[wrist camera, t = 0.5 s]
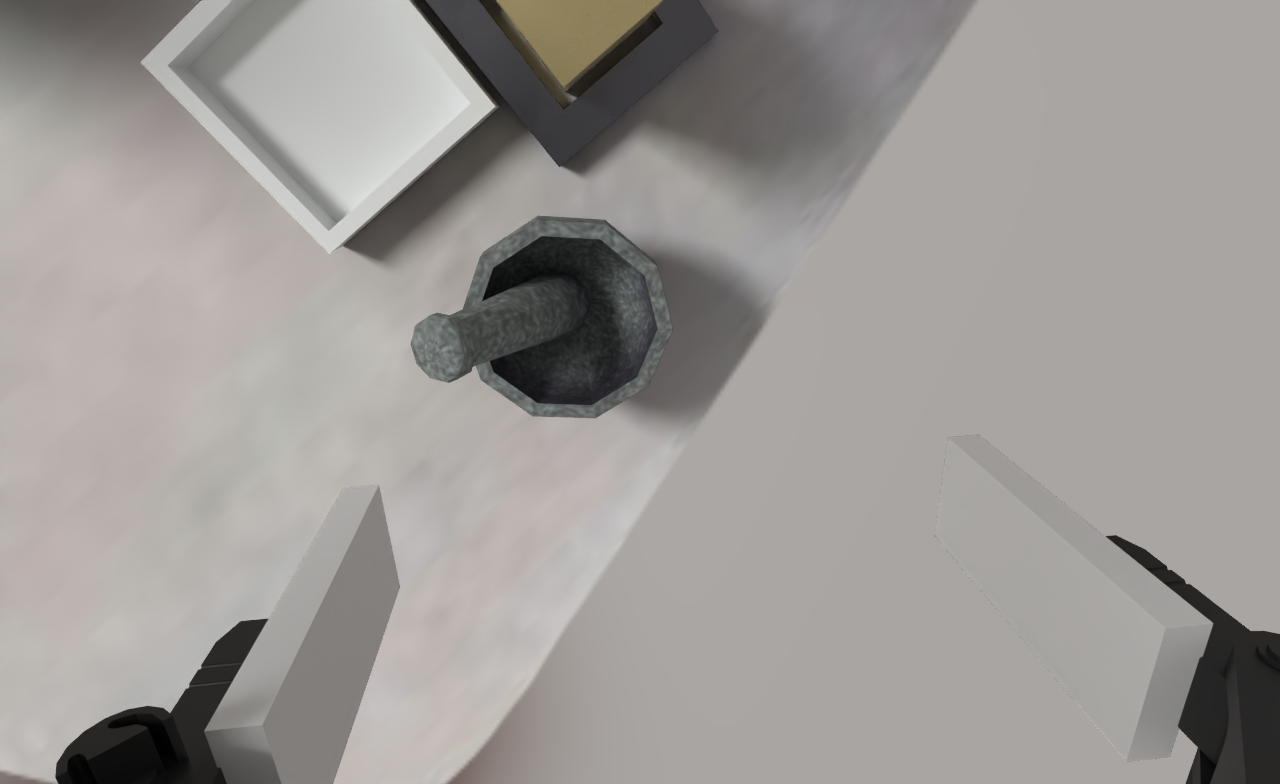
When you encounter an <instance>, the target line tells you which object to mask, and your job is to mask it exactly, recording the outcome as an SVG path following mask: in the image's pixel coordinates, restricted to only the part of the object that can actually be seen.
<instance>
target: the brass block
mask: <svg viewBox="0 0 1280 784" xmlns="http://www.w3.org/2000/svg"><path fill="white" fill-rule="evenodd" d="M495 1H496V2H497V4H498V5H499V6H500V8H501V9H502V10H503V12H504V13H505V14H506V15H507V17H508V18H509V19H510V21H511V22H512V23H513V25H514V26H515V27H516V28H517V30H518V31H519V32H520V34H521V35H522V36H523V38H524V39H525V40H526V42H527V43H528V44H529V45H530V47H531V48H532V49H533V51H534V52H535V53H536V55H537V56H538V57H539V59H540V60H541V61H542V62H543V64H544V65H545V66H546V68H547V69H548V70H549V72H550V73H551V74H552V76H553V77H554V78H555V79H556V81H557V82H558V83H559V85H560V86H561V87H562V89H563V90H564V91H565V92H566V91H567V90H568V89H569V88H570V87H571V86H573V85H574V84H575V83H576V82H577V81H578V80H579V79H581V78H582V77H583V76H584V75H585V74H586V73H587V72H589V71H590V70H591V69H592V68H593V67H594V66H595V65H597V64H598V63H599V62H600V61H601V60H602V59H603V58H605V57H606V56H607V55H608V54H609V53H610V52H611V51H613V50H614V49H615V48H616V47H617V46H618V45H619V44H621V43H622V42H623V41H624V40H625V39H626V38H627V37H629V36H630V35H631V34H632V33H633V32H634V31H635V30H637V29H638V28H639V27H640V26H641V25H642V24H643V23H644V22H645V21H646V20H647V19H648V18H649V17H650V15H651V14H652V13H653V12H654V11H655V10H656V9H657V8H658V6H659V5H660V4H661V3H662V2H663V1H664V0H495Z"/></svg>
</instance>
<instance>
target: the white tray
mask: <svg viewBox="0 0 1280 784" xmlns="http://www.w3.org/2000/svg"><path fill="white" fill-rule="evenodd" d="M140 63H141V64H142V65H143V66H144V67H145V68H146V69H147V70H148V71H149V72H150V73H151V74H152V75H153V76H154V77H155V78H156V79H157V80H158V81H159V82H160V83H161V84H162V85H163V86H164V87H165V88H166V89H167V90H168V91H169V92H170V93H171V94H172V95H173V96H174V97H175V98H176V99H177V100H178V101H179V102H180V103H181V104H182V105H183V106H184V107H185V108H186V109H187V110H188V111H189V112H190V113H191V114H192V115H193V116H194V117H195V118H196V119H197V120H198V121H199V122H200V123H201V124H202V125H203V126H204V128H205V129H206V130H207V131H208V132H209V133H210V134H211V135H212V136H213V137H214V138H215V139H216V140H217V141H218V142H219V143H220V144H221V145H222V146H223V147H224V148H225V149H226V150H227V151H228V152H229V153H230V154H231V155H232V156H233V157H234V158H235V159H236V160H237V161H238V162H239V163H240V164H241V165H242V166H243V167H244V168H245V169H246V170H247V171H248V172H249V173H250V174H251V175H252V176H253V177H254V178H255V179H256V180H257V181H258V182H259V183H260V184H261V185H262V186H263V187H264V188H265V189H266V190H267V191H268V192H269V193H270V194H271V195H272V196H273V197H274V198H275V199H276V200H277V201H278V202H279V203H280V204H281V205H282V207H283V208H284V209H285V210H286V211H287V212H288V213H289V214H290V215H291V216H292V217H293V218H294V219H295V220H296V221H297V222H298V223H299V224H300V225H301V226H302V227H303V228H304V229H305V230H306V231H307V232H308V233H309V234H310V235H311V236H312V237H313V238H314V239H315V240H316V241H317V242H318V243H319V244H320V245H321V246H322V247H323V248H324V249H325V250H326V251H327V252H328V253H329V254H331V253H332V252H334V251H335V250H337V249H339V248H340V247H342V246H343V245H344V244H346V243H347V242H348V241H349V240H350V239H351V238H352V237H353V236H355V235H356V234H357V233H358V232H359V231H360V230H361V229H362V228H364V227H365V226H366V225H367V224H368V223H369V222H370V221H371V220H373V219H374V218H375V217H376V216H377V215H378V214H379V213H380V212H382V211H383V210H384V209H385V208H386V207H387V206H388V205H389V204H391V203H392V202H393V201H394V200H395V199H396V198H397V197H398V196H400V195H401V194H402V193H403V192H404V191H405V190H406V189H407V188H409V187H410V186H411V185H412V184H413V183H414V182H415V181H416V180H418V179H419V178H420V177H421V176H422V175H423V174H424V173H425V172H427V171H428V170H429V169H430V168H431V167H432V166H433V165H434V164H436V163H437V162H438V161H439V160H440V159H441V158H442V157H444V156H445V155H446V154H447V153H448V152H449V151H450V150H451V149H453V148H454V147H455V146H456V145H457V144H458V143H459V142H460V141H462V140H463V139H464V138H465V137H466V136H467V135H468V134H469V133H471V132H472V131H473V130H474V129H475V128H476V127H477V126H478V125H480V124H481V123H482V122H483V121H484V120H485V119H486V118H487V117H489V116H490V115H491V114H492V113H493V112H494V111H495V110H496V109H498V108H499V107H500V106H499V105H498V104H497V103H496V101H495V100H494V99H493V98H492V97H491V95H490V94H489V93H488V92H487V90H486V89H485V88H484V87H483V85H482V84H481V83H480V82H479V80H478V79H477V78H476V77H475V76H474V74H473V73H472V72H471V71H470V69H469V68H468V67H467V66H466V64H465V63H464V62H463V61H462V59H461V58H460V57H459V56H458V54H457V53H456V52H455V51H454V50H453V48H452V47H451V46H450V45H449V43H448V42H447V41H446V40H445V38H444V37H443V36H442V35H441V33H440V32H439V31H438V30H437V28H436V27H435V26H434V25H433V24H432V22H431V21H430V20H429V19H428V17H427V16H426V15H425V14H424V12H423V11H422V10H421V9H420V7H419V6H418V5H417V4H416V3H415V1H414V0H201V1H200V2H199V3H198V4H197V5H196V6H195V7H194V8H193V9H192V10H191V11H190V12H189V13H188V14H187V15H186V16H185V17H184V18H183V19H182V20H181V21H180V22H179V23H178V24H177V25H176V26H175V27H174V28H173V29H172V30H171V31H170V32H169V33H168V34H167V35H166V36H165V37H164V38H163V39H162V40H161V41H160V42H159V44H158V45H157V46H156V47H155V48H154V49H153V50H152V51H151V52H150V53H149V54H148V55H147V56H146V57H145V58H144V59H143V60H142V61H141V62H140Z"/></svg>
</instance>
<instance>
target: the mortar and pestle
mask: <svg viewBox="0 0 1280 784" xmlns="http://www.w3.org/2000/svg"><path fill="white" fill-rule="evenodd" d="M672 330H673V328H672V324H671V320H670V316H669V311H668V307H667V303H666V299H665V295H664V290H663V286H662V282H661V278H660V274H659V269H658V266H657V265H656V263H655V261H654V260H652V259H651V258H650V257H649V256H648V255H646V254H645V253H644V252H643V251H642V250H640V249H639V248H638V247H637V246H636V245H634V244H633V243H632V242H631V241H630V240H628V239H627V238H626V237H625V236H624V235H622V234H621V233H620V232H619V231H618V230H616V229H615V228H614V227H613V226H612V225H610V224H609V223H608V222H607V221H606V220H598V219H582V218H565V217H549V216H537V217H536V218H534V219H532V220H531V221H529V222H528V223H526V224H525V225H523V226H522V227H520V228H519V229H517V230H516V231H514V232H513V233H511V234H510V235H508V236H507V237H505V238H504V239H502V240H501V241H499V242H498V243H496V244H495V245H493V246H492V247H490V248H489V249H487V250H486V251H484V252H483V253H482V255H481V257H480V259H479V262H478V265H477V268H476V271H475V274H474V277H473V280H472V283H471V286H470V289H469V292H468V295H467V298H466V301H465V304H464V307H463V310H461V311H459V312H456V313H454V314H452V315H445V314H441V313H436V314H433V315H430V316H428V317H427V318H425V319H424V320H423V321H421V322H420V323H418V324H417V325H416V326H415V329H414V333H413V337H412V341H411V347H412V350H413V353H414V357H415V360H416V363H417V365H418V366H419V367H420V368H421V369H422V370H423V371H424V372H425V373H426V374H427V375H428V376H429V377H430V378H432V379H436V380H440V381H444V382H448V383H449V382H452V381H454V380H457V379H459V378H460V377H462V376H464V375H466V374H468V373H470V372H471V370H472V367H473V366H476V368H477V370H478V373H479V376H480V379H481V380H482V381H483V382H485V383H486V384H487V385H489V386H490V387H492V388H493V389H495V390H496V391H497V392H499V393H500V394H502V395H503V396H505V397H506V398H508V399H509V400H510V401H512V402H513V403H515V404H516V405H518V406H519V407H520V408H522V409H523V410H525V411H526V412H528V413H529V414H530V415H532V416H541V417H574V418H597V417H598V416H600V415H602V414H603V413H605V412H606V411H608V410H610V409H611V408H613V407H615V406H616V405H618V404H620V403H621V402H623V401H624V400H626V399H628V398H629V397H631V396H633V395H634V394H636V393H637V392H639V391H641V390H642V389H644V388H646V387H647V386H648V385H649V383H650V381H651V378H652V376H653V374H654V372H655V369H656V367H657V365H658V362H659V360H660V358H661V355H662V353H663V351H664V348H665V346H666V344H667V342H668V339H669V337H670V335H671V332H672Z"/></svg>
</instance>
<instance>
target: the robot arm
mask: <svg viewBox="0 0 1280 784" xmlns="http://www.w3.org/2000/svg"><path fill="white" fill-rule="evenodd" d="M935 538H936V539H937V540H938V541H939V542H940V543H941V545H942V546H943V547H944V548H945V549H946V551H947V552H948V553H949V554H950V555H951V556H952V558H953V559H954V560H955V561H956V562H957V563H958V565H959V566H960V567H961V568H962V569H963V571H964V572H965V573H966V574H967V575H968V576H969V578H970V579H971V580H972V581H973V582H974V583H975V585H976V586H977V587H978V588H979V589H980V591H981V592H982V593H983V594H984V595H985V596H986V598H987V599H988V600H989V601H990V602H991V604H992V605H993V606H994V607H995V608H996V609H997V611H998V612H999V613H1000V614H1001V615H1002V616H1003V618H1004V619H1005V620H1006V621H1007V622H1008V624H1009V625H1010V626H1011V627H1012V628H1013V629H1014V631H1015V632H1016V633H1017V634H1018V635H1019V637H1020V638H1021V639H1022V640H1023V641H1024V642H1025V643H1026V645H1027V646H1028V647H1029V648H1030V649H1031V651H1032V652H1033V653H1034V654H1035V655H1036V657H1037V658H1038V659H1039V660H1040V661H1041V662H1042V664H1043V665H1044V666H1045V667H1046V668H1047V669H1048V671H1049V672H1050V673H1051V674H1052V675H1053V676H1054V678H1055V679H1056V680H1057V681H1058V682H1059V683H1060V685H1061V686H1062V687H1063V688H1064V689H1065V691H1066V692H1067V693H1068V694H1069V695H1070V697H1071V698H1072V699H1073V700H1074V701H1075V702H1076V704H1077V705H1078V706H1079V707H1080V708H1081V710H1082V711H1083V712H1084V713H1085V714H1086V715H1087V717H1088V718H1089V719H1090V720H1091V721H1092V722H1093V724H1094V725H1095V726H1096V727H1097V728H1098V730H1099V731H1100V732H1101V733H1102V734H1103V735H1104V736H1105V738H1106V739H1107V740H1108V741H1109V743H1111V745H1112V746H1113V747H1114V748H1115V749H1116V751H1117V752H1118V753H1119V754H1120V755H1121V756H1122V758H1123V759H1124V760H1125V761H1126V762H1132V761H1140V760H1148V759H1157V758H1165V757H1170V755H1171V752H1172V749H1173V746H1174V743H1175V740H1176V737H1177V734H1178V730H1179V728H1180V729H1181V731H1182V732H1184V734H1185V735H1187V737H1188V738H1189V739H1190V740H1191V741H1192V742H1193V743H1194V744H1195V745H1196V746H1197V747H1198V749H1197V752H1196V755H1195V758H1194V761H1193V764H1192V767H1191V770H1190V773H1189V776H1188V779H1187V781H1186V784H1280V634H1276V633H1271V632H1266V631H1250V630H1249V629H1247V628H1246V627H1245V626H1243V625H1242V624H1241V623H1239V622H1238V621H1237V620H1236V619H1234V618H1233V617H1232V616H1230V615H1229V614H1228V613H1227V612H1225V611H1224V610H1223V609H1221V608H1220V607H1219V606H1217V605H1216V604H1215V603H1213V602H1212V601H1211V600H1210V599H1208V598H1207V597H1206V596H1205V595H1203V594H1202V593H1201V592H1199V591H1198V590H1197V589H1195V588H1194V587H1193V586H1192V585H1190V584H1186V583H1185V580H1184V579H1183V578H1181V577H1180V576H1179V575H1177V574H1176V573H1175V572H1173V571H1172V570H1168V569H1167V566H1166V565H1164V564H1163V563H1162V562H1161V561H1159V560H1158V559H1157V558H1155V557H1154V556H1153V555H1151V554H1150V553H1149V552H1148V551H1146V550H1145V549H1143V548H1141V547H1139V546H1137V545H1135V544H1132V543H1131V542H1128V541H1126V540H1124V539H1122V538H1120V537H1118V536H1116V535H1115V536H1104V535H1103V534H1102V533H1101V532H1099V531H1098V530H1097V529H1096V528H1094V527H1093V526H1092V525H1091V524H1089V523H1088V522H1087V521H1086V520H1084V519H1083V518H1082V517H1081V516H1079V515H1078V514H1077V513H1076V512H1074V511H1073V510H1072V509H1071V508H1069V507H1068V506H1067V505H1066V504H1065V503H1063V502H1062V501H1061V500H1060V499H1058V498H1057V497H1056V496H1055V495H1053V494H1052V493H1051V492H1050V491H1048V490H1047V489H1046V488H1045V487H1043V486H1042V485H1041V484H1040V483H1038V482H1037V481H1036V480H1035V479H1033V478H1032V477H1031V476H1030V475H1029V474H1027V473H1026V472H1025V471H1023V470H1022V469H1021V468H1020V467H1018V466H1017V465H1016V464H1015V463H1014V462H1012V461H1011V460H1010V459H1008V458H1007V457H1006V456H1005V455H1004V454H1002V453H1001V452H1000V451H999V450H997V449H996V448H995V447H994V446H992V445H991V444H990V443H989V442H987V441H986V440H985V439H984V438H983V437H981V436H980V435H967V436H955V437H948V438H947V446H946V453H945V461H944V469H943V476H942V483H941V491H940V498H939V506H938V513H937V521H936V528H935ZM399 588H400V584H399V579H398V575H397V570H396V565H395V560H394V555H393V551H392V546H391V541H390V536H389V531H388V526H387V522H386V517H385V512H384V507H383V502H382V498H381V493H380V488H379V485H371V486H360V487H348V488H343V490H342V491H341V493H340V495H339V497H338V498H337V500H336V502H335V504H334V505H333V507H332V509H331V511H330V512H329V514H328V516H327V518H326V519H325V521H324V523H323V525H322V526H321V528H320V530H319V532H318V533H317V535H316V537H315V539H314V540H313V542H312V544H311V546H310V547H309V549H308V551H307V552H306V554H305V556H304V558H303V559H302V561H301V563H300V565H299V566H298V568H297V570H296V572H295V573H294V575H293V577H292V579H291V580H290V582H289V584H288V586H287V587H286V589H285V591H284V593H283V594H282V596H281V598H280V600H279V601H278V603H277V605H276V607H275V608H274V610H273V612H272V614H271V615H270V617H269V619H260V620H249V621H240V622H239V623H238V624H237V625H236V626H235V627H233V628H232V629H231V630H230V631H229V632H228V633H226V634H225V635H224V636H223V637H222V638H221V639H219V640H218V641H217V642H216V643H215V645H214V646H213V648H212V649H211V651H210V653H209V654H208V656H207V657H206V659H205V660H204V662H203V663H202V665H201V666H202V667H201V669H200V670H198V671H197V673H196V674H195V676H194V677H193V679H192V680H191V682H190V684H189V689H186V690H185V691H184V693H183V694H182V696H181V698H180V699H179V701H178V702H177V704H176V705H175V707H174V708H173V710H172V711H171V713H169V712H167V711H166V710H165V709H164V708H159V707H151V706H145V707H139V708H133V709H128V710H125V711H123V712H120V713H118V714H115V715H113V716H110V717H108V718H105V719H104V720H102V721H100V722H99V723H97V724H95V725H94V726H92V727H91V728H89V729H87V730H86V731H84V732H83V733H82V734H81V735H80V736H79V737H78V738H77V739H75V740H74V741H73V742H72V743H71V744H70V745H69V746H68V747H67V748H66V750H65V751H64V753H63V754H62V756H61V757H60V759H59V761H58V762H57V766H56V777H55V778H56V780H57V782H58V784H333V782H334V779H335V776H336V773H337V770H338V768H339V765H340V762H341V759H342V756H343V753H344V750H345V747H346V744H347V741H348V738H349V735H350V732H351V729H352V726H353V723H354V721H355V718H356V715H357V712H358V709H359V706H360V703H361V700H362V697H363V694H364V691H365V688H366V685H367V682H368V679H369V676H370V673H371V671H372V668H373V665H374V662H375V659H376V656H377V653H378V650H379V647H380V644H381V641H382V638H383V635H384V632H385V629H386V626H387V623H388V621H389V618H390V615H391V612H392V609H393V606H394V603H395V600H396V597H397V594H398V591H399Z"/></svg>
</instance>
